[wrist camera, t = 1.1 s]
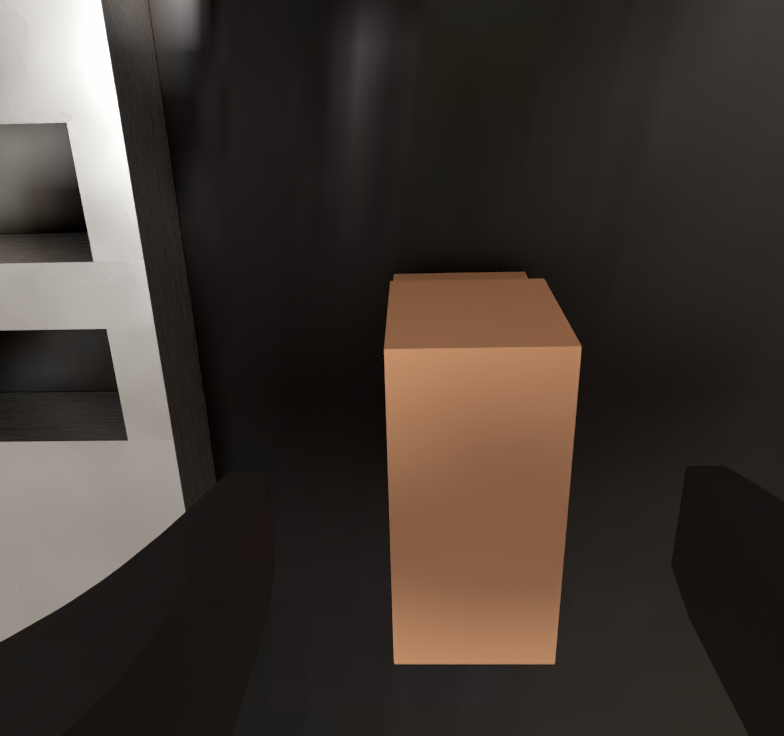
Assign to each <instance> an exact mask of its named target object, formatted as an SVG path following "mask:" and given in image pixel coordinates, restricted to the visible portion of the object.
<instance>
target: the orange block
mask: <svg viewBox="0 0 784 736" xmlns="http://www.w3.org/2000/svg"><path fill="white" fill-rule="evenodd" d="M581 349H582V346H581V344H580V342H579V340H578V339H577V337H576V335H575V333H574V331H573V330H572V328H571V326H570V324H569V322H568V321H567V319H566V317H565V315H564V314H563V312H562V310H561V308H560V306H559V305H558V303H557V301H556V299H555V297H554V296H553V294H552V292H551V290H550V288H549V287H548V285H547V283H546V281H545V279H544V278H543V279H528V277H527V275H526V273H525V272H477V273H419V274H394V278H393V281H390V289H389V300H388V310H387V321H386V332H385V343H384V366H385V397H386V428H387V459H388V490H389V522H390V553H391V584H392V615H393V646H394V664H555V656H556V644H557V632H558V621H559V609H560V597H561V585H562V573H563V562H564V550H565V538H566V526H567V514H568V503H569V491H570V479H571V467H572V455H573V444H574V432H575V420H576V408H577V396H578V385H579V373H580V361H581Z"/></svg>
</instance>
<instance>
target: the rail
mask: <svg viewBox="0 0 784 736" xmlns="http://www.w3.org/2000/svg"><path fill="white" fill-rule="evenodd" d="M30 123H67V128H68V133H69V138H70V143H71V148H72V154H73V159H74V164H75V169H76V174H77V179H78V185H79V190H80V195H81V200H82V205H83V210H84V215H85V221H86V226H87V231H88V233H47V234H0V330H60V329H107V334H108V339H109V344H110V350H111V355H112V360H113V365H114V370H115V375H116V381H117V386H118V391H113V392H31V393H0V642H1V641H3V640H5V639H7V638H9V637H10V636H12V635H14V634H16V633H17V632H19V631H21V630H23V629H24V628H26V627H28V626H30V625H31V624H33V623H35V622H37V621H38V620H40V619H42V618H44V617H45V616H47V615H49V614H51V613H52V612H54V611H56V610H58V609H59V608H61V607H63V606H64V605H66V604H67V603H69V602H71V601H72V600H74V599H75V598H77V597H78V596H80V595H81V594H83V593H84V592H86V591H87V590H89V589H90V588H92V587H93V586H95V585H96V584H98V583H99V582H100V581H102V580H103V579H105V578H106V577H107V576H109V575H110V574H111V573H113V572H114V571H116V570H117V569H118V568H120V567H121V566H122V565H123V564H125V563H126V562H127V561H128V560H130V559H131V558H132V557H133V556H134V555H136V554H137V553H138V552H139V551H141V550H142V549H143V548H144V547H146V546H147V545H148V544H149V543H150V542H152V541H153V540H154V539H155V538H157V537H158V536H159V535H160V534H162V533H163V532H164V531H165V530H166V529H167V528H168V527H169V526H170V525H172V524H173V523H174V522H175V521H176V520H177V519H178V518H179V517H180V516H182V515H183V514H184V513H185V512H186V511H187V510H188V509H189V508H190V507H191V506H193V505H194V504H195V503H196V502H197V501H198V500H199V499H200V498H201V497H202V496H203V495H204V494H205V493H206V492H207V491H208V490H210V489H211V488H212V487H213V486H214V485H215V484H216V476H215V469H214V462H213V455H212V448H211V441H210V434H209V427H208V420H207V413H206V406H205V399H204V392H203V385H202V378H201V371H200V364H199V357H198V349H197V342H196V335H195V328H194V321H193V314H192V307H191V300H190V293H189V286H188V279H187V272H186V265H185V258H184V251H183V244H182V237H181V230H180V223H179V216H178V209H177V202H176V195H175V188H174V181H173V174H172V167H171V160H170V153H169V146H168V139H167V132H166V125H165V118H164V111H163V104H162V97H161V90H160V83H159V76H158V69H157V61H156V54H155V47H154V40H153V33H152V26H151V19H150V12H149V5H148V0H0V124H30Z"/></svg>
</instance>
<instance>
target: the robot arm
mask: <svg viewBox="0 0 784 736" xmlns="http://www.w3.org/2000/svg"><path fill="white" fill-rule="evenodd" d="M671 565H672V568H673V571H674V574H675V577H676V580H677V583H678V587H679V590H680V593H681V596H682V598H683V601H684V604H685V607H686V610H687V612H688V615H689V618H690V620H691V622H692V624H693V626H694V628H695V630H696V632H697V634H698V636H699V638H700V640H701V642H702V644H703V646H704V648H705V650H706V652H707V654H708V656H709V658H710V660H711V662H712V664H713V666H714V668H715V670H716V672H717V674H718V676H719V678H720V680H721V682H722V684H723V686H724V688H725V690H726V692H727V694H728V696H729V698H730V700H731V702H732V704H733V705H734V707H735V709H736V711H737V713H738V715H739V717H740V719H741V721H742V723H743V725H744V727H745V729H746V731H747V733H748V735H749V736H784V502H783V501H782V500H780V499H779V498H777V497H775V496H774V495H772V494H771V493H769V492H767V491H766V490H764V489H763V488H761V487H759V486H758V485H756V484H755V483H753V482H751V481H750V480H748V479H746V478H745V477H743V476H741V475H740V474H738V473H736V472H734V471H732V470H731V469H729V468H727V467H725V466H687V468H686V474H685V480H684V487H683V493H682V500H681V506H680V512H679V519H678V525H677V531H676V538H675V544H674V551H673V557H672V563H671ZM274 570H275V564H274V555H273V546H272V537H271V528H270V519H269V510H268V501H267V492H266V483H265V474H264V471H229V472H228V473H227V474H226V475H225V476H223V477H222V478H221V479H220V480H219V481H218V482H217V483H216V484H215V485H214V486H213V487H212V488H211V489H210V490H208V491H207V492H206V493H205V494H204V495H203V496H202V497H201V498H200V499H199V500H198V501H197V502H196V503H195V504H194V505H193V506H191V507H190V508H189V509H188V510H187V511H186V512H185V513H184V514H183V515H182V516H180V517H179V518H178V519H177V520H176V521H175V522H174V523H173V524H172V525H170V526H169V527H168V528H167V529H166V530H165V531H164V532H163V533H162V534H160V535H159V536H158V537H157V538H155V539H154V540H153V541H152V542H150V543H149V544H148V545H147V546H146V547H144V548H143V549H142V550H141V551H139V552H138V553H137V554H136V555H134V556H133V557H132V558H131V559H130V560H128V561H127V562H126V563H125V564H123V565H122V566H121V567H120V568H118V569H117V570H116V571H114V572H113V573H111V574H110V575H109V576H107V577H106V578H105V579H103V580H102V581H100V582H99V583H98V584H96V585H95V586H93V587H92V588H90V589H89V590H87V591H86V592H84V593H83V594H81V595H80V596H78V597H77V598H75V599H74V600H72V601H71V602H69V603H67V604H66V605H64V606H63V607H61V608H59V609H58V610H56V611H54V612H52V613H51V614H49V615H47V616H45V617H44V618H42V619H40V620H38V621H37V622H35V623H33V624H31V625H30V626H28V627H26V628H24V629H23V630H21V631H19V632H17V633H16V634H14V635H12V636H10V637H9V638H7V639H5V640H3V641H1V642H0V736H232V733H233V730H234V726H235V723H236V720H237V716H238V713H239V710H240V707H241V703H242V700H243V697H244V693H245V690H246V687H247V683H248V680H249V677H250V673H251V670H252V667H253V664H254V660H255V657H256V653H257V650H258V647H259V643H260V640H261V637H262V633H263V630H264V626H265V623H266V619H267V613H268V607H269V602H270V596H271V589H272V583H273V576H274Z"/></svg>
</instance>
